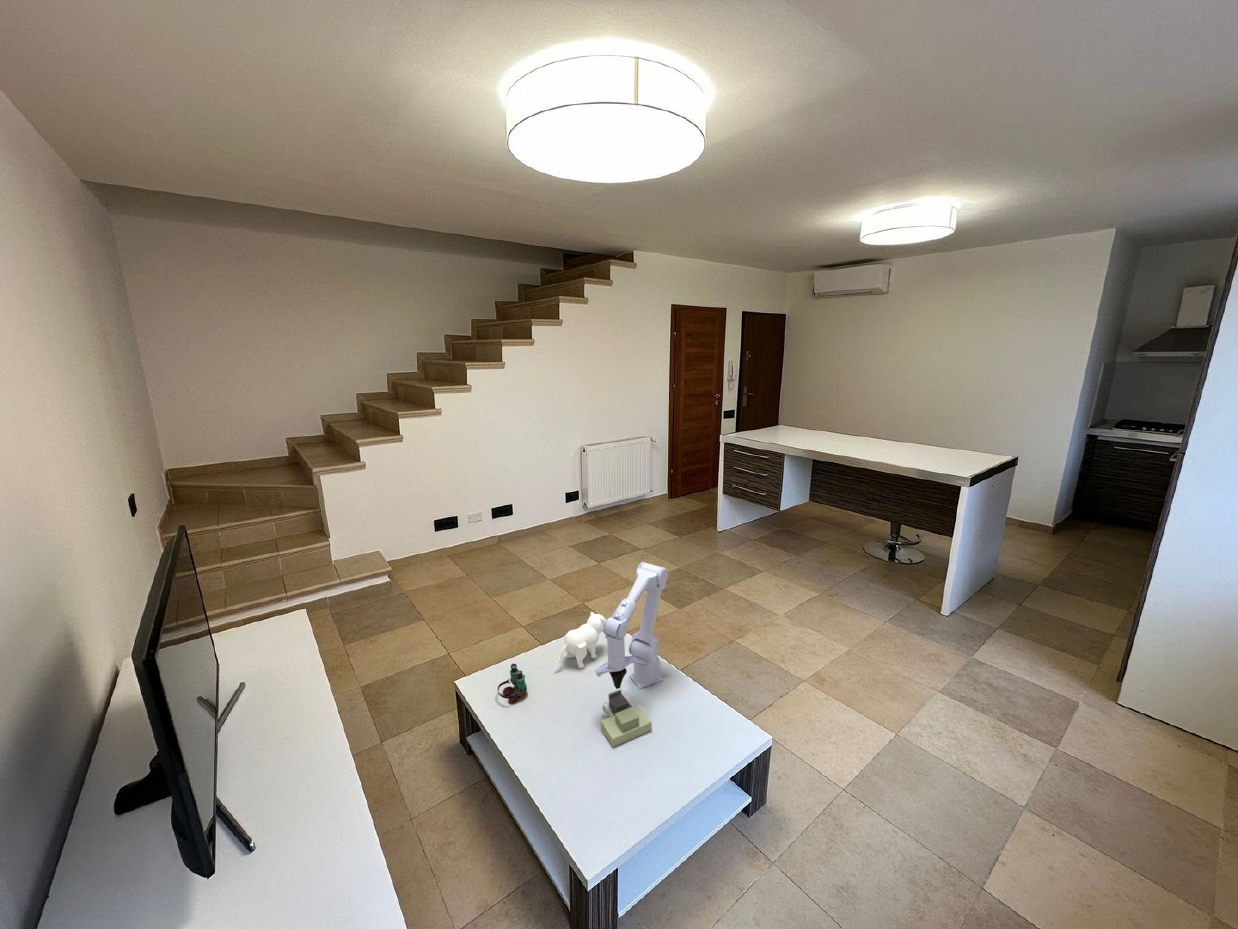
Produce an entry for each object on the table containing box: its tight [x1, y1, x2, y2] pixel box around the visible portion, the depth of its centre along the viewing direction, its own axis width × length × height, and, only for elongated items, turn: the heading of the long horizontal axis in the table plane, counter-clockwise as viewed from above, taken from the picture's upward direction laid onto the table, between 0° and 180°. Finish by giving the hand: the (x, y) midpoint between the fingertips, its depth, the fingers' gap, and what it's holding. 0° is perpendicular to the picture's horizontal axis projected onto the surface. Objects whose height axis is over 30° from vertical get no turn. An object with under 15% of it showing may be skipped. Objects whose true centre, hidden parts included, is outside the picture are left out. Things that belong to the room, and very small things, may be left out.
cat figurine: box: [555, 611, 606, 669], centre depth 190 cm, size 25×10×17 cm, turn 129°
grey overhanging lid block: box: [608, 689, 630, 715], centre depth 165 cm, size 4×6×5 cm
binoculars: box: [497, 663, 529, 704], centre depth 172 cm, size 9×11×10 cm
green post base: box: [600, 694, 653, 748], centre depth 160 cm, size 14×16×6 cm
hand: (617, 686), depth 164 cm, fingers closed
